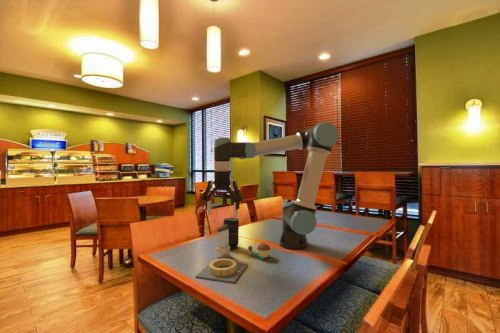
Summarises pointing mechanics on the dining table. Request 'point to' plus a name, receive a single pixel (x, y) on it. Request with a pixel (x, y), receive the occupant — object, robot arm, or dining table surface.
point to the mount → (222, 270)
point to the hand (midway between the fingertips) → (222, 215)
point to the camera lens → (232, 231)
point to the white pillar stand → (223, 243)
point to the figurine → (261, 251)
